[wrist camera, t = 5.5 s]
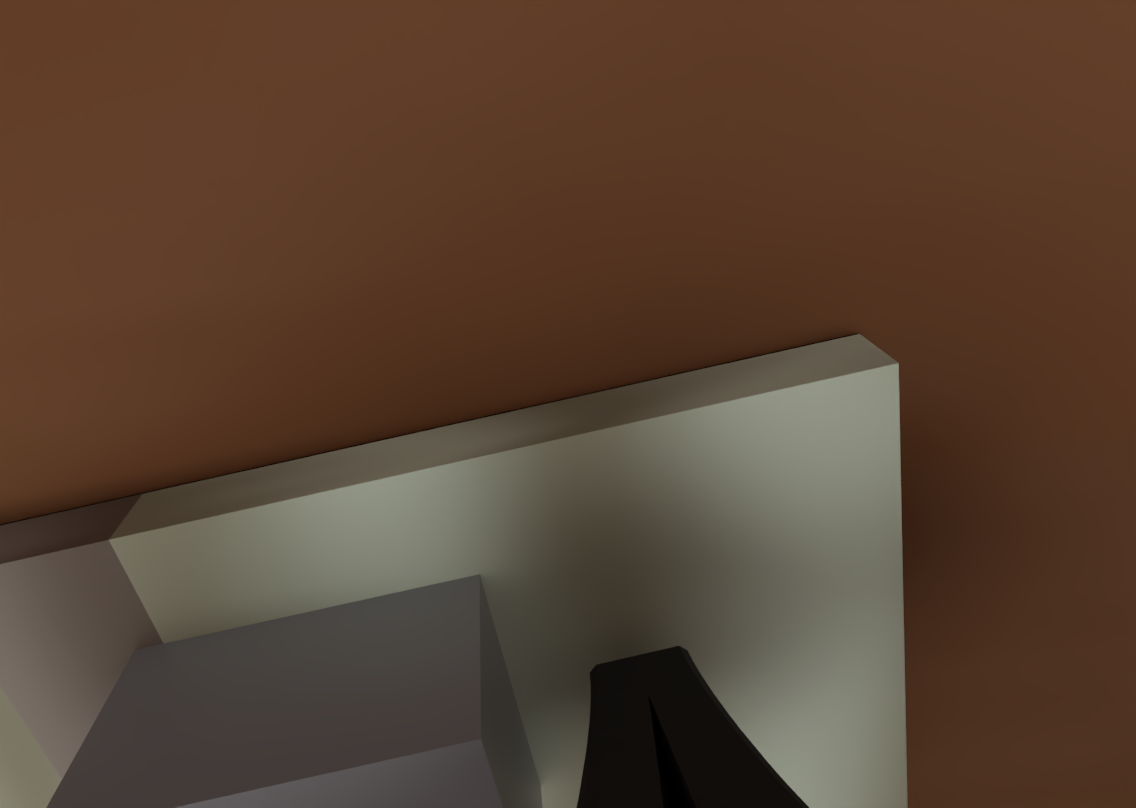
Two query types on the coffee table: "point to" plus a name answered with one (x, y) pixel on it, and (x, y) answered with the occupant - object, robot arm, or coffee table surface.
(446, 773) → the grey box with panel
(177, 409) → the coffee table surface
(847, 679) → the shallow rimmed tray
